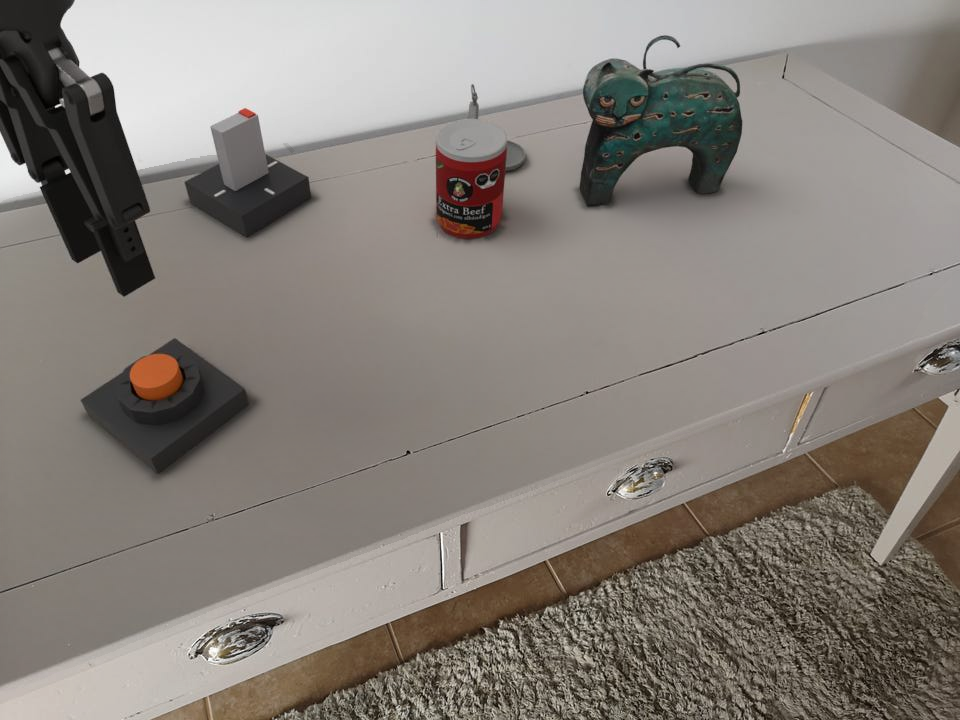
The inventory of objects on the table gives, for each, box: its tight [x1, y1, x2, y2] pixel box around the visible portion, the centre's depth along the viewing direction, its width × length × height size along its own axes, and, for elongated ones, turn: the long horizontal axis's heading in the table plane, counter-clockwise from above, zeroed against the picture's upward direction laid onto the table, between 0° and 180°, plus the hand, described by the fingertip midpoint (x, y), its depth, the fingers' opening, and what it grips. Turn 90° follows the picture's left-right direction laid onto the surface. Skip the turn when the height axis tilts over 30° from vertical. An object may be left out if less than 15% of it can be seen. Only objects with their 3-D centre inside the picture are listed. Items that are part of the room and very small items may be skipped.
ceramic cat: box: [578, 34, 743, 207], centre depth 90 cm, size 20×6×20 cm, turn 101°
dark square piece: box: [80, 337, 250, 475], centre depth 69 cm, size 10×10×4 cm
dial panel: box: [184, 153, 312, 238], centre depth 91 cm, size 10×10×3 cm
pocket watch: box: [467, 83, 526, 172], centre depth 97 cm, size 8×8×10 cm
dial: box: [210, 107, 269, 191], centre depth 87 cm, size 5×2×8 cm, turn 142°
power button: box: [130, 354, 183, 401], centre depth 67 cm, size 4×4×2 cm
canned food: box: [435, 118, 508, 239], centre depth 88 cm, size 8×8×11 cm
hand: (113, 268), depth 58 cm, fingers open, 5 cm apart
